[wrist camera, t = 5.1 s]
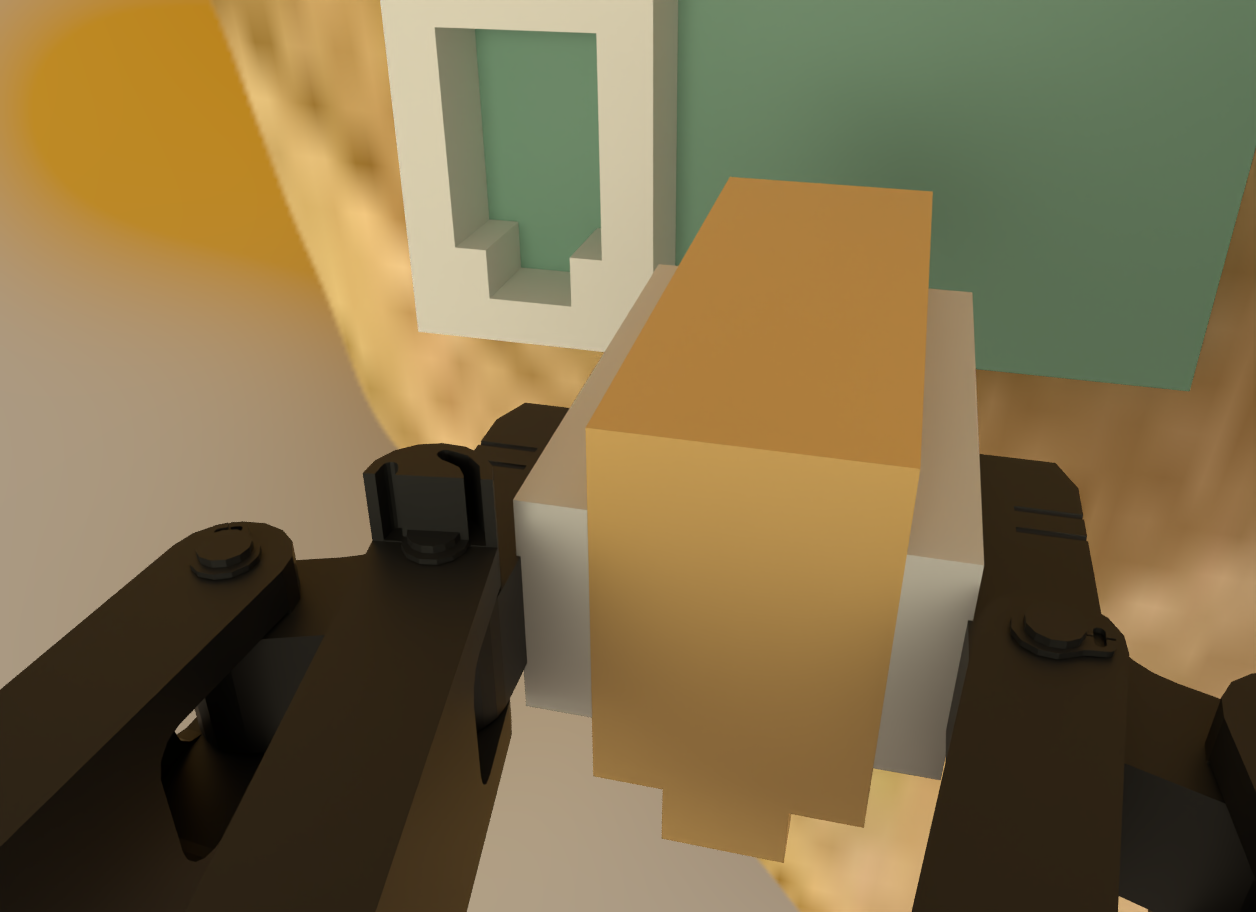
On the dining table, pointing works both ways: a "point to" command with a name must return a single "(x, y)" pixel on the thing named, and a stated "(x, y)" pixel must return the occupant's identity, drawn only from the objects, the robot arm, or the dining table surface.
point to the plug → (760, 512)
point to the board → (832, 156)
